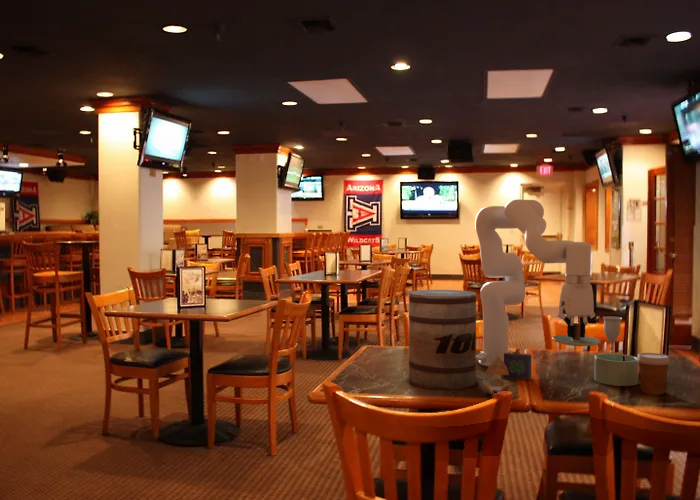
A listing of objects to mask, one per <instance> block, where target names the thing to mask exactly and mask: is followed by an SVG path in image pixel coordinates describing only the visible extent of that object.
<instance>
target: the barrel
mask: <svg viewBox="0 0 700 500" xmlns="http://www.w3.org/2000/svg"><path fill="white" fill-rule="evenodd" d="M476 355H477V293H476V292H474V291H469V290H460V289H419V290H418V289H417V290H412V291H409V292H408V382H409V383H410V384H412V385H413V386H416V387H420V388H425V389H432V390H462V389H467V388H471V387H473V386H475V385H476V383H477V382H476V380H477V378H476V377H477V376H476V374H477V365H476V364H477V359H476Z"/></svg>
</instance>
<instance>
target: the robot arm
mask: <svg viewBox="0 0 700 500" xmlns="http://www.w3.org/2000/svg"><path fill="white" fill-rule="evenodd" d="M543 217H545V209H544V206H543V205H542V203H540V201H538V200H535V199H513V200H510V201H509V202H507V203H506V204H505V206H502V205H491V206H486V207H482V208H481V209H480V210H479V211H478V212H477V213H476V215H475V221H474V228H475V233H476V235H477V240H478V244H479V252H480V253H479V254H480V265H481V271H482V273H483V275H484V276H485V277H486V278H490V279H491V278H493V279H496V278H499V279H500V278H504V280H493V281H489V282H488V281H487V282H486V283H484V284H483V285H482V287H481V288H480V294H479V295H480V300H481V306H482V351H479V353H478V354H476V361H478V364H479V365H481V366H483V367H487V368H488V367H489V365H490V364H491V363H492V361H493V360H494V359H495V358H496V357H497V356H499V357H500V358H501V360H502V361H503V362H504V353H506V352H509V339H510V337H509V333H510V332H509V331H510V330H509V329H510V327H509V326H510V325H509V323H510V321H509V315H508V313H507V311H506V309H505V307H509V306H518V305H520V304H522V303H523V302H524V300H525V299H526V298H525V297H526V286H525V285H526V284H525V277H524V266H523V262H522V260H521V258H520V257H519V255H518V254H516V253H514V252H504V248H503V242H502V241H503V240H502V239H501V236H500V234H499V233H498V232H497V231H496V229H499V230H500V229H501V230H503V229H505V230H506V229H509V230H511V229H513V230H514V229H518V230H519V231H520V232H521V233H522V234H523V235H524V243H525V246H526V249H527V251H529V253H530V254H531V255H532V256H533V257H534V258H535V259H536V260H538V261H539V262H541V263H543V264H565V279H564V282H565V283H563V284H562V286H561V290H560V295H559V305H558V314H557V318H559V319H561V320H563V322H564V323H565V324H566V325H567V326H566V327H567V329H566V333H567V334H566V335H568V337H571V338H575V326H574V323H575V317H578V323H580V324H581V337H582V338H584V337H585V336H586V326H587V325H588V323H589V322H590V320H591V319H593V318H595V317H596V313H595V310H594V309H595V307H594V306H595V304H594V303H595V302H594V291H593V286H592V284H591V281H592V282H593V280H594V277H593V276H591V258H592V245H591V244H590V243H589V242H585V241H572V240H562V239H561V240H559V239H558V240H556V239H555V240H548V239H546V238H545V237H543V236H542V235H543V234H544V233H545V232H546V229H547V221H546V220H545V218H543Z"/></svg>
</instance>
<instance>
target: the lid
mask: <svg viewBox="0 0 700 500" xmlns="http://www.w3.org/2000/svg"><path fill="white" fill-rule="evenodd" d="M574 326H575V338H571V337H568V334H559V335H554V336H552V337H551V338H552V341H553V342H555V343H557V344H561V345H565V346H572V347H591V346H598V345H600V344H601V339H599V338H596V337H593V336H587V335H585V337H584V338H582V337H581V324H580V323H579V322H574Z"/></svg>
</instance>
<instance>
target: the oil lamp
mask: <svg viewBox="0 0 700 500" xmlns="http://www.w3.org/2000/svg"><path fill="white" fill-rule="evenodd" d="M485 374H486V375H491V376H493V377H492V379H484V380H483V381H482V387H483V389H484V390H485V392H487V394H489V395H491V396H492V397H493V395H494V394H495V393H497V392H500V391H507V392H508V391H509V390H510V388H511V385H512V383H511V381H509V380H505V379H502V376H504V375H509V373H508V369H507V367H506V365H505V364H504V362H503V361H502V360H501V358H500V357H499V356H497V357H496V358H495V359H494V360H493V361H492V363H491V364H490V365H489V367H488V366H487V369H486V372H485Z"/></svg>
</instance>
